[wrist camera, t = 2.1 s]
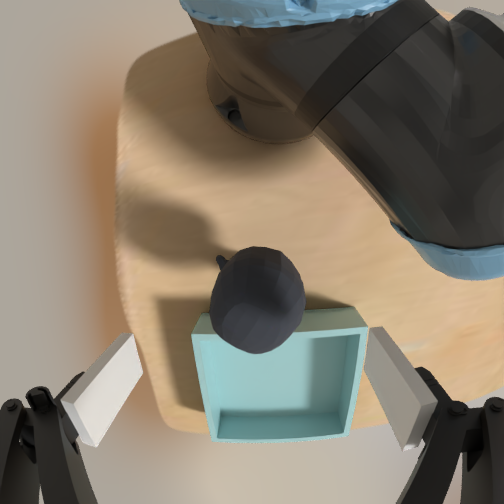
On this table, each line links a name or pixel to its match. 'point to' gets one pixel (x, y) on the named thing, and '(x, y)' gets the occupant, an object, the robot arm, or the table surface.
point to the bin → (283, 380)
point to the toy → (257, 300)
